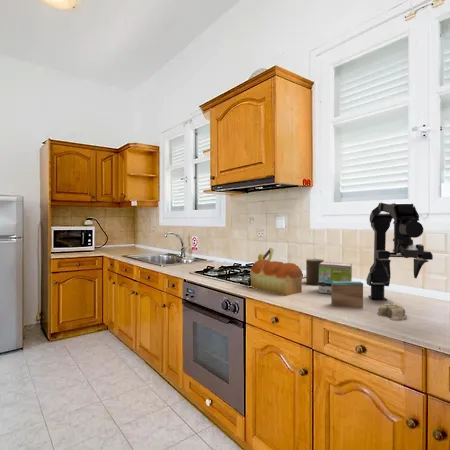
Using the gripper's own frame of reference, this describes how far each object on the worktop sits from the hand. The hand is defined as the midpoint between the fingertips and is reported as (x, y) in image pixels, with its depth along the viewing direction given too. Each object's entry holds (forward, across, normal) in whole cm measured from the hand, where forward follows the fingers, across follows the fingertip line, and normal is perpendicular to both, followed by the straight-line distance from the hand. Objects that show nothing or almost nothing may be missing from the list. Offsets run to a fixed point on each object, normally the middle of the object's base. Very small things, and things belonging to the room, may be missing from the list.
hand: (402, 277), depth 120 cm
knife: (+15, -64, +78) cm, 102 cm away
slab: (+15, -17, +13) cm, 26 cm away
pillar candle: (+15, -24, +60) cm, 66 cm away
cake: (+15, -4, 0) cm, 15 cm away
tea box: (+15, -17, +38) cm, 44 cm away
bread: (+15, -46, +40) cm, 63 cm away
